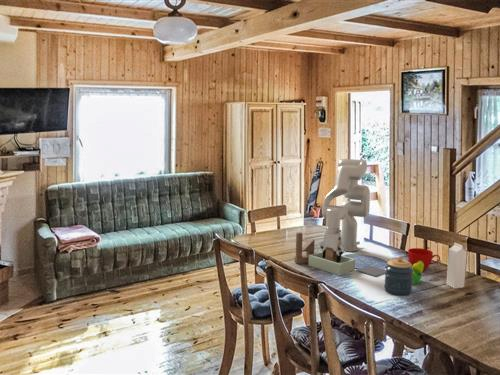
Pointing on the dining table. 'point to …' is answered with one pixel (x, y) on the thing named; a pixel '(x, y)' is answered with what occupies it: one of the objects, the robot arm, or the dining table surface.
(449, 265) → the milk
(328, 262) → the box
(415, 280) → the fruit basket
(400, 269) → the canister
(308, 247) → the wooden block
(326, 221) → the robot arm
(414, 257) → the ceramic cup
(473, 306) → the dining table surface
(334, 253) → the walnut block
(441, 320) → the dining table surface
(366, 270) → the felt pad
